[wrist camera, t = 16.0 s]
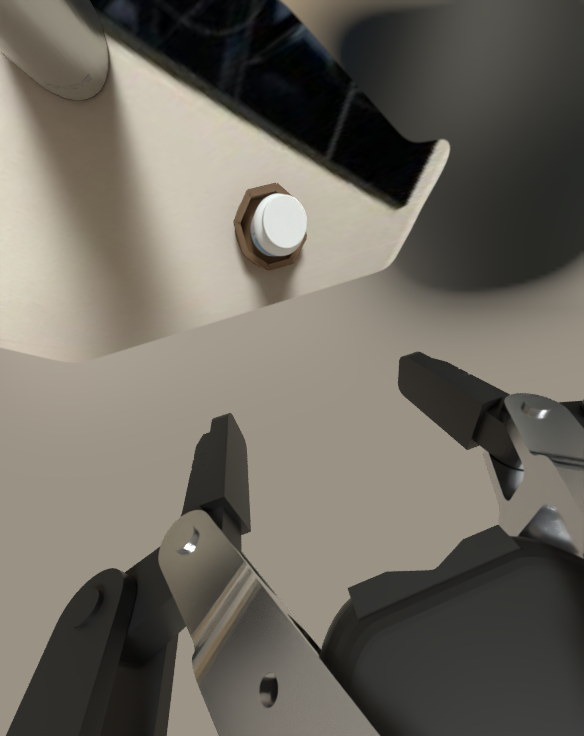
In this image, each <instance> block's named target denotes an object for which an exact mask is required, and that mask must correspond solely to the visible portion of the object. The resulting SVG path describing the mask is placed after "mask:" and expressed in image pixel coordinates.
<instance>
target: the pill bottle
mask: <svg viewBox="0 0 584 736" xmlns="http://www.w3.org/2000/svg"><path fill="white" fill-rule="evenodd" d="M306 228H307V218H306V213H305V210H304V208H303V206H302V205H301V203H300V202H299V201H298V200H297V199H296V198H294V197H292V196H290V195H285V194H279V193H277V194H272V195H269V196H268V197H266V198H265V199H263V200H262V201H261V203H260V204H259V205H258V207H257V209H256V211H255V214H254V217H253V219H252V222H251V228H250V233H251V238H252V241H253V243H254V245H255V247H256V248H257V249H258V250H259V251H260V252H261V253H263V254H265V255H267V256H286V255H289V254H291V253H292V252H294V251H295V250H296V249H297V248H298V247H299V246H300V244H301V243H302V240H303V238H304V235H305V232H306Z"/></svg>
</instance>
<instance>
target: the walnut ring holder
mask: <svg viewBox="0 0 584 736" xmlns="http://www.w3.org/2000/svg"><path fill="white" fill-rule="evenodd" d="M277 193H279V194H285V195H290V194H289V193H288V192H287V191H286V190H285V189H284V188H282V187H281V186H280V185H279V184H278V183H277V185H276V183H273V184H269V185H264V186H260V187H256V188H252V189H248V190H247V191H246V193H245V195H244V198H243V200H242V202H241V204H240V206H239V208H238V210H237V214H236V217H235V219H234V226H235V232H236V237H237V241H238V244H239V246H240V248H241V250H242V252H243V254H244V255H245V256H246V257H247V258H248V259H249V260H250V261H252V262H253V263H254V264H256V265H258V266H260V267H263V268H265V269H266V270H272V269H275V268H279V267H283V266H286V265H290V264H292V263H294V261H295V259H296V257H297V255H298V253H299V252H300V250H301V248H302V246H303V244H304V242H305V241H306V239H307V238H306V237H307V234H306V232H305V235H304V238H303V240H302V243H301V244H300V246H299V247H298V248H297V249H296V250H295V251H294V252H292V253H291V254H289V255H286V256H267V255H265V254H263V253H261V252H260V251H259V250H258V249H257V248H256V247H255V245H254V243H253V241H252V238H251V233H250V228H251V222H252V219H253V217H254V214H255V211H256V209H257V207H258V205H259V204H260V203H261V201H262V200H263V199H265V198H266V197H268V196H269V195H272V194H277ZM290 196H292V195H290ZM292 197H293V196H292Z"/></svg>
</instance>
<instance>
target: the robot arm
mask: <svg viewBox="0 0 584 736" xmlns="http://www.w3.org/2000/svg"><path fill="white" fill-rule="evenodd" d="M0 52H2V53H3V54H4V55H5V56H6V57H7V58H9V59H10V60H11V61H12V62H13V63H15V64H16V65H17V66H18V67H19V68H20V69H22V70H23V71H24V72H25V73H26V74H27V75H29V76H30V77H31V78H32V79H33V80H35V81H36V82H37V83H38V84H39V85H41V86H43V87H44V88H46V89H47V90H49V91H50V92H52V93H54V94H56V95H59V96H61V97H63V98H67V99H72V100H85V99H88V98H91V97H93V96H95V95H96V94H97V93H98V92H99V91H100V90H101V88H102V87H103V85H104V83H105V81H106V77H107V73H108V51H107V44H106V40H105V36H104V33H103V29H102V26H101V24H100V21H99V19H98V16H97V14H96V12H95V9H94V8H93V6H92V4H91V2H90V0H0ZM398 386H399V389H400V391H401V393H402V394H403V395H404V396H405V397H406V398H407V399H408V400H409V401H411V402H412V403H413V404H414V405H415V406H417V408H419V409H420V410H421V411H422V412H423V413H424V414H426V415H427V416H428V417H429V418H430V419H431V420H433V421H434V422H435V423H436V424H437V425H438V426H440V427H441V428H442V429H443V430H444V431H446V432H447V433H448V434H449V435H450V436H451V437H453V438H454V439H455V440H456V441H457V442H458V443H460V444H461V445H462V446H463V447H464V448H465V449H467V450H469V449H471V448H474V447H477V446H479V445H480V446H481V447H483V448H484V452H483V456H484V459H485V462H486V466H487V469H488V472H489V475H490V478H491V481H492V484H493V487H494V491H495V494H496V497H497V500H498V504H499V510H500V513H499V525H496V526H494V527H491V528H489V529H487V530H484V531H482V532H480V533H477V534H475V535H472V536H470V537H468V538H465V539H463V540H462V541H461V542H460V543H459V544H458V546H457V547H456V548H455V549H454V550H453V551H452V552H451V553H450V554H449V555H448V556H447V558H446V559H445V560H444V561H443V562H442V563H441V564H440V565H439V566H438V567H437V568H436V569H434V570H425V571H396V572H395V571H394V572H385V573H382V574H380V575H378V576H376V577H373V578H371V579H368V580H366V581H364V582H361V583H359V584H356V585H354V586H352V587H350V588H348V591H349V594H350V599H349V600H348V601H347V602H346V603H345V604H344V605H343V606H342V608H341V609H340V610H339V612H338V613H337V615H336V616H335V618H334V620H333V621H332V624H331V625H330V627H329V630H328V632H327V634H326V637H325V639H324V643H323V645H322V649H321V648H320V646H319V645H318V644H317V643H316V642H315V640H314V639H313V638H312V637H311V635H310V634H309V633H308V632H307V630H305V628H304V627H303V626H302V624H301V623H300V622H299V621H298V619H297V618H296V617H295V616H294V615H293V613H292V612H291V611H290V610H289V609H288V607H287V606H286V605H285V604H284V603H283V602H282V600H281V599H280V598H279V597H278V595H277V594H276V593H275V592H274V591H273V589H272V588H271V587H270V586H269V584H268V583H267V582H266V581H265V579H264V578H263V577H262V576H261V574H259V572H258V571H257V570H256V568H255V567H254V566H253V565H252V563H251V562H250V561H249V560H248V558H247V557H246V556H245V555H244V553H243V552H242V551H241V535H243V534H246V533H248V532H250V531H251V526H250V506H249V485H248V465H247V448H246V443H245V439H244V437H243V435H242V433H241V431H240V429H239V427H238V425H237V423H236V421H235V419H234V417H233V415H232V414H231V413H228V414H225V415H222V416H219V417H216V418H213V419H212V423H211V430H210V432H209V433H206V434H203V436H202V438H201V439H200V441H199V443H198V444H197V446H196V450H195V454H194V460H193V464H192V471H191V474H190V478H189V483H188V488H187V492H186V497H185V502H184V506H183V511H182V515H181V517H180V518H179V519H178V520H177V521H176V522H175V523H174V524H173V525H172V526H171V527H170V529H169V530H168V532H167V533H166V535H165V537H164V539H163V541H162V543H161V546H160V547H159V548H157V549H156V550H155V551H154V552H152V553H151V554H149V555H148V556H147V557H145V558H144V559H143V560H141V561H140V562H139V563H137V564H136V565H134V566H133V567H132V568H130V569H129V570H128V571H126V572H125V573H124V572H122V571H120V570H118V569H114V568H111V569H107V570H104V571H102V572H100V573H98V574H97V575H95V576H94V577H93V578H91V579H90V580H89V581H88V582H87V583H86V584H85V585H84V586H82V588H81V589H80V590H79V591H78V592H77V593H76V594H75V595H74V597H73V598H72V599H71V601H70V602H69V603H68V605H67V606H66V608H65V609H64V611H63V613H62V615H61V616H60V618H59V620H58V622H57V624H56V626H55V629H54V631H53V633H52V635H51V637H50V639H49V642H48V644H47V646H46V648H45V651H44V653H43V655H42V657H41V659H40V662H39V664H38V666H37V668H36V670H35V673H34V675H33V677H32V679H31V682H30V684H29V686H28V688H27V690H26V693H25V695H24V697H23V699H22V701H21V704H20V706H19V708H18V710H17V713H16V715H15V717H14V719H13V721H12V723H11V726H10V728H9V730H8V732H7V735H6V736H167V727H168V718H169V709H170V701H171V693H172V683H173V676H174V667H175V659H176V650H177V642H178V633H179V632H180V631H181V630H182V629H184V627H186V626H187V629H188V631H189V633H190V635H191V637H192V640H193V643H194V647H195V652H194V654H193V657H192V665H193V670H194V674H195V678H196V681H197V683H198V686H199V688H200V691H201V693H202V696H203V698H204V701H205V703H206V706H207V708H208V710H209V712H210V715H211V718H212V720H213V723H214V725H215V727H216V730H217V733H218V735H219V736H584V400H583V401H572V402H559V403H558V402H556V401H554V400H552V399H549V398H547V397H544V396H540V395H536V394H529V393H516V394H511V395H510V394H508V393H506V392H504V391H502V390H500V389H498V388H496V387H494V386H492V385H490V384H488V383H487V382H485V381H483V380H481V379H479V378H477V377H475V376H473V375H471V374H470V375H469V374H468V373H467V372H465V371H463V370H461V369H458V367H455V366H454V365H452V364H450V363H448V362H445V361H442V360H438V359H434V358H431V357H429V356H427V355H425V354H423V353H421V352H415V353H412V354H409V355H406V356H403V357H401V358H400V360H399V377H398Z"/></svg>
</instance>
